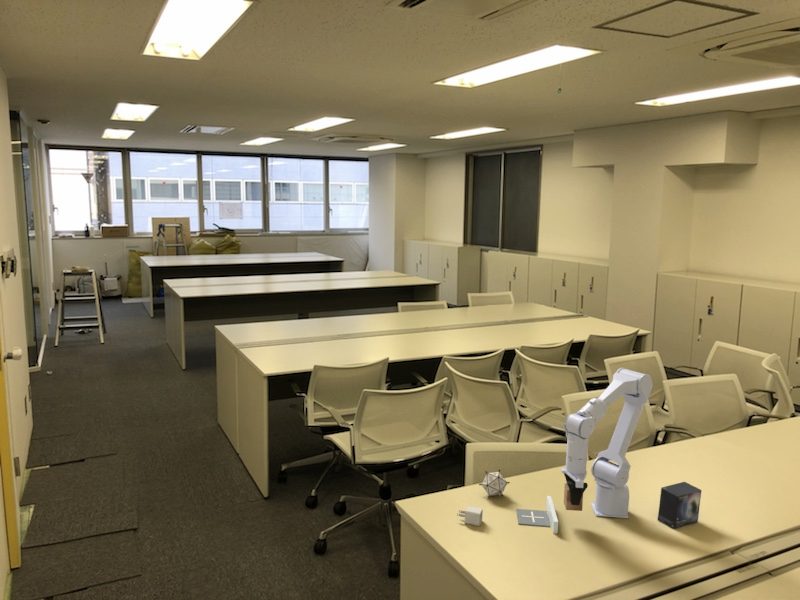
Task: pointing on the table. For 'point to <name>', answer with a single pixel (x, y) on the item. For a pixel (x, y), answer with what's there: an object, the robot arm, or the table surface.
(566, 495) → the walnut block
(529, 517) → the pad
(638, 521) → the table surface
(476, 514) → the usb wall charger
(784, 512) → the table surface
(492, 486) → the game die
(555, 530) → the frosted wall
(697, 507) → the small box
